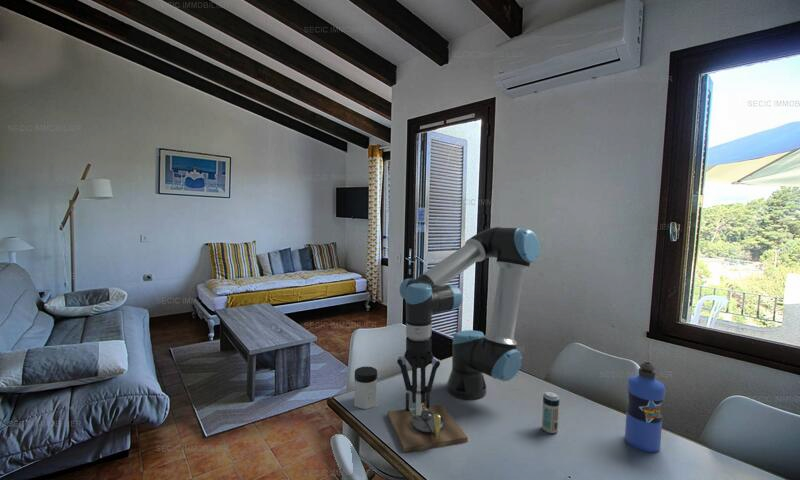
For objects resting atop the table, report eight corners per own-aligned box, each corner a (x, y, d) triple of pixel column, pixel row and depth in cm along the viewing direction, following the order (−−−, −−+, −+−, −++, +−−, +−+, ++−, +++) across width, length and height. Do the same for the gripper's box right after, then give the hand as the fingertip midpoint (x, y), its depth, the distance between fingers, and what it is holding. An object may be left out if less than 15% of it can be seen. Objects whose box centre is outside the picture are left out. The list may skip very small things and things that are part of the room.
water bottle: (618, 433, 117) (622, 356, 116) (647, 434, 117) (653, 357, 115) (635, 452, 108) (641, 369, 106) (668, 453, 108) (674, 370, 106)
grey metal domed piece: (405, 410, 125) (405, 387, 125) (433, 407, 128) (434, 385, 127) (421, 445, 107) (421, 418, 106) (453, 441, 109) (454, 415, 108)
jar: (359, 412, 127) (360, 378, 126) (349, 401, 134) (349, 369, 133) (382, 404, 132) (382, 372, 131) (371, 395, 139) (371, 364, 138)
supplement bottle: (557, 427, 120) (559, 391, 119) (558, 435, 116) (560, 398, 115) (541, 424, 122) (543, 389, 121) (541, 432, 117) (543, 396, 116)
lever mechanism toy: (441, 408, 131) (442, 387, 130) (467, 441, 112) (468, 418, 111) (387, 415, 125) (387, 394, 125) (404, 452, 106) (404, 427, 106)
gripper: (394, 340, 106) (395, 418, 108) (440, 342, 104) (440, 421, 106) (398, 331, 114) (399, 404, 116) (441, 333, 112) (441, 407, 114)
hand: (418, 412), depth 111 cm, fingers closed
